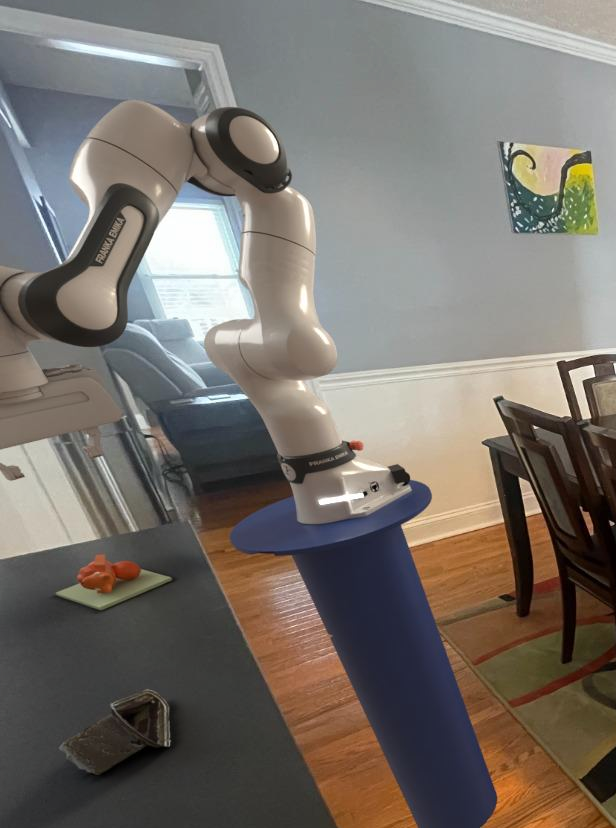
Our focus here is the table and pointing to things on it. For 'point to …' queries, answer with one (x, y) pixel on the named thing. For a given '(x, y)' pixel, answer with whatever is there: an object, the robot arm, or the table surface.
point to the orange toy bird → (106, 574)
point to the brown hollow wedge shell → (121, 733)
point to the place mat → (114, 590)
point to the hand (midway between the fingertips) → (58, 467)
